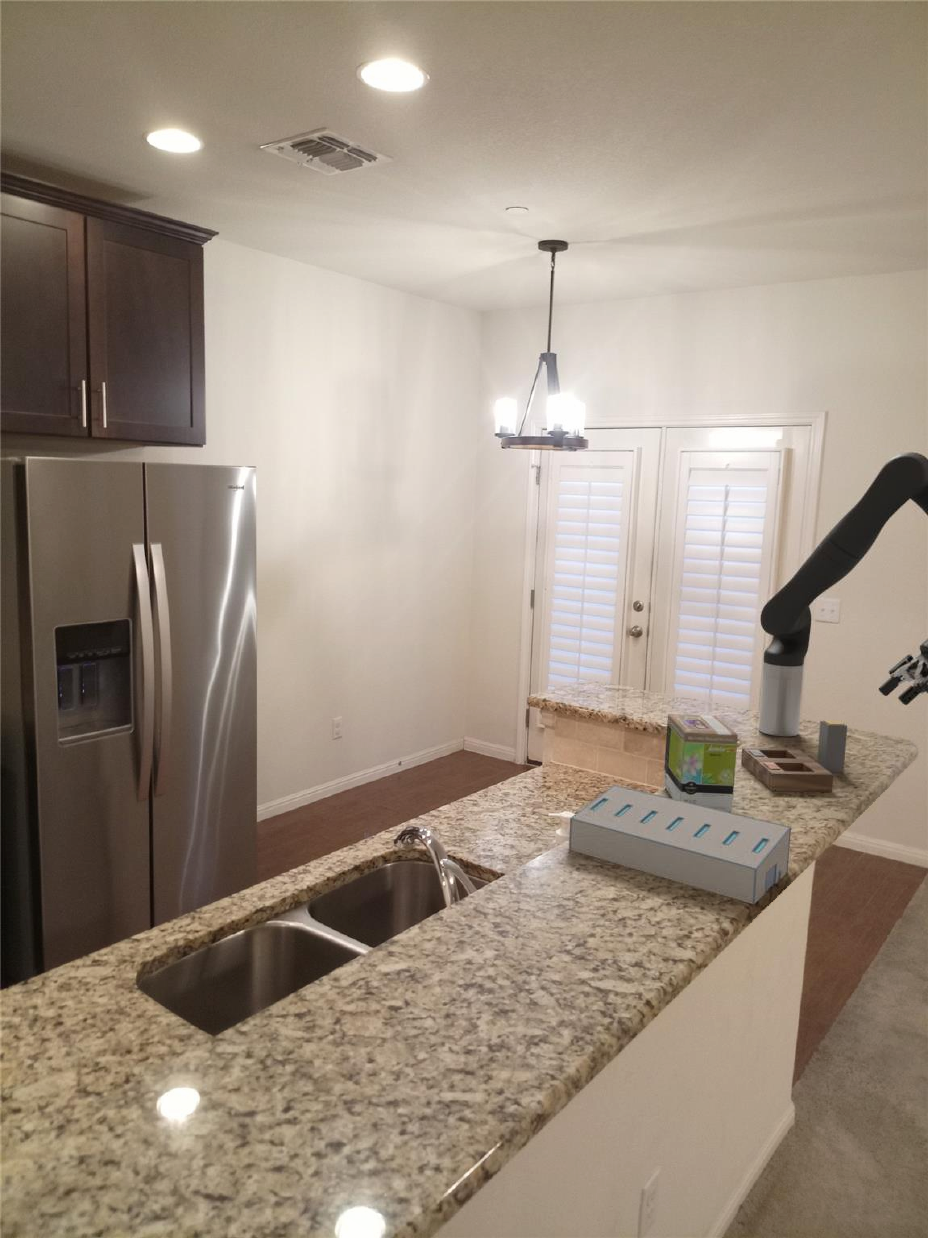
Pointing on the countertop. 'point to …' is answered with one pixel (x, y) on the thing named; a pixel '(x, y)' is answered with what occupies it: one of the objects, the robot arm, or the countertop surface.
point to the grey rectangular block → (832, 745)
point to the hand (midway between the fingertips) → (891, 697)
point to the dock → (786, 770)
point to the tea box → (700, 760)
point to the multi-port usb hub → (683, 842)
